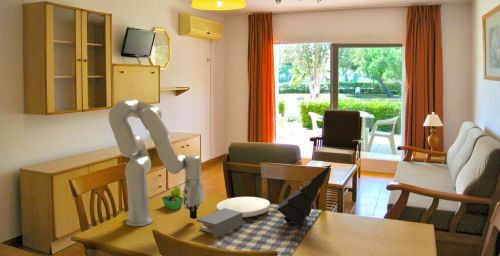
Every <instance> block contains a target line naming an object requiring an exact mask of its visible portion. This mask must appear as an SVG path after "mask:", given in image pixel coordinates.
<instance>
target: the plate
mask: <svg viewBox="0 0 500 256" xmlns="http://www.w3.org/2000/svg"><path fill="white" fill-rule="evenodd" d="M224 208H226V209H230V210H234V211H239V212H242V218H250V217H256V216H259V215H263V214H264V213H266V212H267V211H269V209H270V208H271V202H270V201H269V200H268V199H266V198H262V197H256V196H237V197H231V198H227V199H224V200H222V201H220V202H218V203H217V204H216V205H215V212H216V211H219V210H221V209H224Z"/></svg>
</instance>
